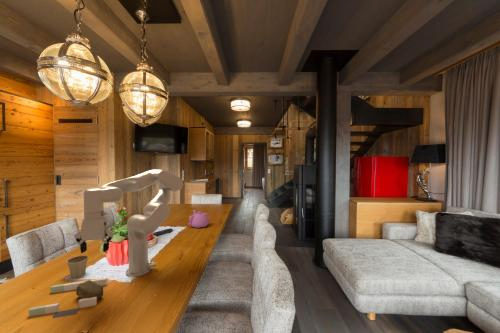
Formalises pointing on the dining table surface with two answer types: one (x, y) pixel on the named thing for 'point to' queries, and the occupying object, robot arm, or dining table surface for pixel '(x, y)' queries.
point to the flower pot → (77, 265)
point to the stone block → (89, 290)
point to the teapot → (199, 219)
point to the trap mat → (66, 313)
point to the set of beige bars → (66, 287)
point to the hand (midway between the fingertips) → (94, 251)
